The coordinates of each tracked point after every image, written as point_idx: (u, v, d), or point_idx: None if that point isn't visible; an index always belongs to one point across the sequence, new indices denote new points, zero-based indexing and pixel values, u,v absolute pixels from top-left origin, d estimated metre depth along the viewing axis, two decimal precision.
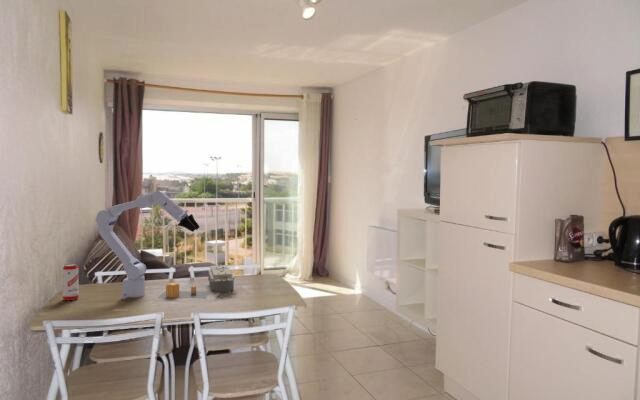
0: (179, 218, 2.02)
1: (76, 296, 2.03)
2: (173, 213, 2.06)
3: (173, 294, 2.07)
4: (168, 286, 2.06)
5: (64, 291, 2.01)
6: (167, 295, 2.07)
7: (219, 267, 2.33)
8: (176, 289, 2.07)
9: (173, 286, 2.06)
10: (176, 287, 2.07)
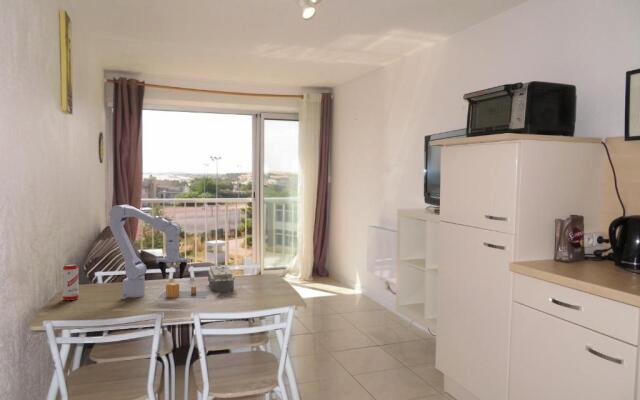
0: None
1: (76, 296, 2.03)
2: None
3: (173, 294, 2.07)
4: (168, 286, 2.06)
5: (64, 291, 2.01)
6: (167, 295, 2.07)
7: (219, 267, 2.33)
8: (176, 289, 2.07)
9: (173, 286, 2.06)
10: (176, 287, 2.07)
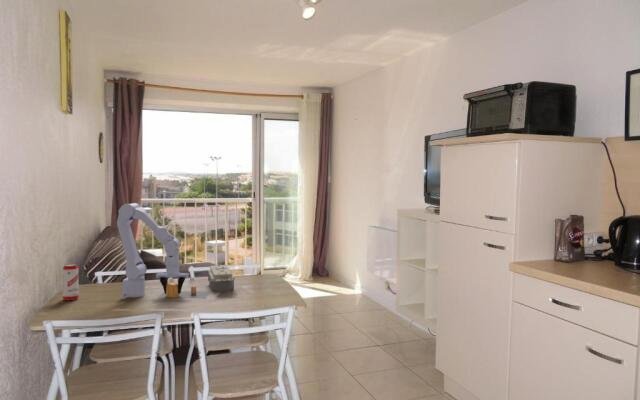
0: None
1: (76, 296, 2.03)
2: None
3: (173, 294, 2.07)
4: (168, 286, 2.06)
5: (64, 291, 2.01)
6: (167, 295, 2.07)
7: (219, 267, 2.33)
8: (176, 289, 2.07)
9: (173, 286, 2.06)
10: (176, 287, 2.07)
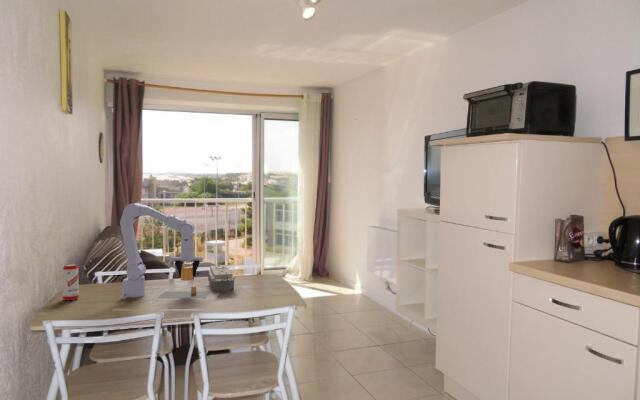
0: None
1: (76, 296, 2.03)
2: None
3: (188, 277, 2.09)
4: (183, 270, 2.08)
5: (64, 291, 2.01)
6: (182, 278, 2.09)
7: (219, 267, 2.33)
8: (191, 272, 2.09)
9: (188, 269, 2.08)
10: (191, 270, 2.09)
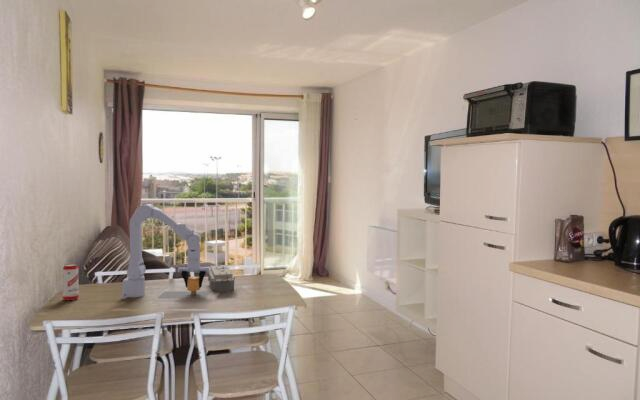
0: None
1: (76, 296, 2.03)
2: None
3: (194, 288, 2.10)
4: (189, 280, 2.10)
5: (64, 291, 2.01)
6: (188, 289, 2.10)
7: (219, 267, 2.33)
8: (197, 283, 2.11)
9: (194, 280, 2.10)
10: (197, 281, 2.11)
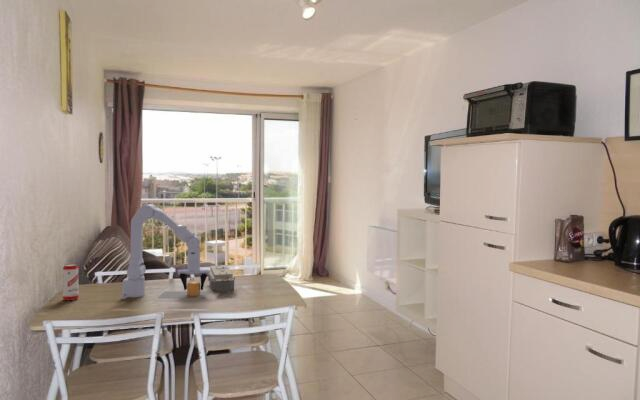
0: None
1: (76, 296, 2.03)
2: None
3: (194, 292, 2.10)
4: (189, 285, 2.10)
5: (64, 291, 2.01)
6: (188, 293, 2.10)
7: (219, 267, 2.33)
8: (197, 287, 2.11)
9: (194, 285, 2.10)
10: (197, 286, 2.11)
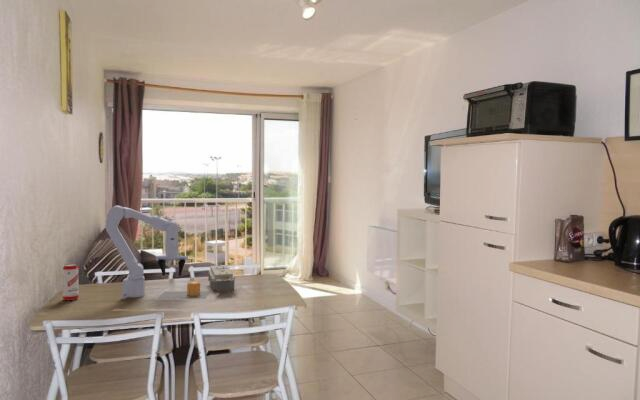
0: None
1: (76, 296, 2.03)
2: None
3: (194, 292, 2.10)
4: (189, 285, 2.10)
5: (64, 291, 2.01)
6: (188, 293, 2.10)
7: (219, 267, 2.33)
8: (197, 287, 2.11)
9: (194, 285, 2.10)
10: (197, 286, 2.11)
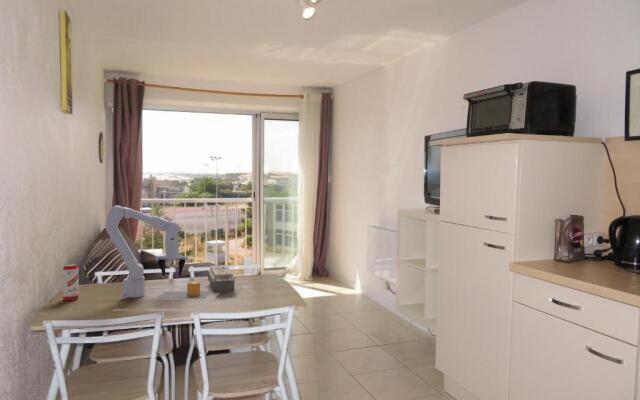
0: None
1: (76, 296, 2.03)
2: None
3: (194, 292, 2.10)
4: (189, 285, 2.10)
5: (64, 291, 2.01)
6: (188, 293, 2.10)
7: (219, 267, 2.33)
8: (197, 287, 2.11)
9: (194, 285, 2.10)
10: (197, 286, 2.11)
